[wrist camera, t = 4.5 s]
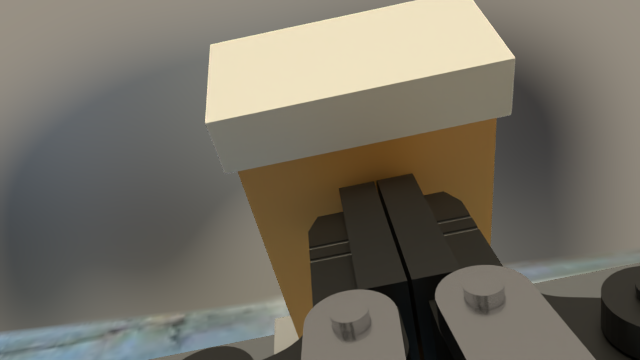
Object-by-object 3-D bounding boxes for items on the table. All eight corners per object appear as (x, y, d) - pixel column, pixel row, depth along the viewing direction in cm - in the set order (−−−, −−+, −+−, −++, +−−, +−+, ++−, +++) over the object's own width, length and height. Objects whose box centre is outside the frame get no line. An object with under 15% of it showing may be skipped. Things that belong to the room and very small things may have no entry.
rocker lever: (329, 444, 19) (204, 126, 10) (318, 362, 21) (210, 42, 12) (491, 413, 18) (517, 60, 10) (464, 334, 21) (463, -12, 12)
